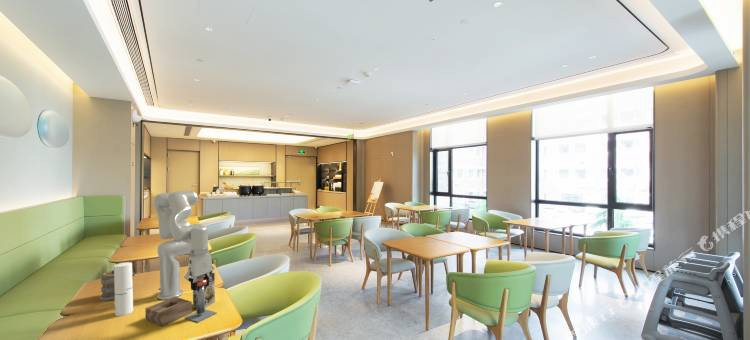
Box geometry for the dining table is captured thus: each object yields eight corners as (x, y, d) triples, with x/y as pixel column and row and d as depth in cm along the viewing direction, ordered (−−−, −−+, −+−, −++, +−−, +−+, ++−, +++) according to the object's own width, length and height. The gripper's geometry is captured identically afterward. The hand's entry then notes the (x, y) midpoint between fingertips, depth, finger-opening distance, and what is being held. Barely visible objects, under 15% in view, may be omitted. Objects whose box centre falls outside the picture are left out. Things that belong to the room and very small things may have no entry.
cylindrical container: (136, 310, 160) (135, 262, 159) (121, 316, 153) (120, 267, 153) (127, 308, 162) (126, 261, 162) (111, 314, 155) (110, 265, 155)
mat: (184, 318, 151) (184, 317, 151) (203, 309, 160) (203, 308, 160) (197, 322, 146) (197, 321, 146) (216, 313, 155) (216, 312, 155)
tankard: (94, 299, 174) (94, 273, 174) (118, 290, 186) (117, 266, 186) (121, 302, 169) (121, 275, 169) (144, 293, 182) (143, 268, 181)
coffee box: (203, 309, 160) (202, 278, 160) (192, 308, 162) (192, 277, 161) (215, 301, 169) (215, 272, 169) (205, 300, 170) (204, 271, 170)
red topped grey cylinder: (198, 316, 149) (198, 283, 149) (191, 313, 152) (190, 281, 151) (210, 310, 154) (209, 279, 154) (202, 308, 157) (201, 277, 157)
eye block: (145, 320, 149) (145, 308, 149) (174, 308, 162) (174, 296, 162) (162, 326, 143) (162, 313, 143) (191, 313, 156) (191, 301, 156)
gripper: (187, 257, 143) (188, 295, 143) (220, 248, 159) (220, 282, 159) (177, 255, 146) (178, 292, 147) (210, 246, 162) (210, 280, 162)
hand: (200, 287), depth 153 cm, fingers closed on red topped grey cylinder, 5 cm apart
